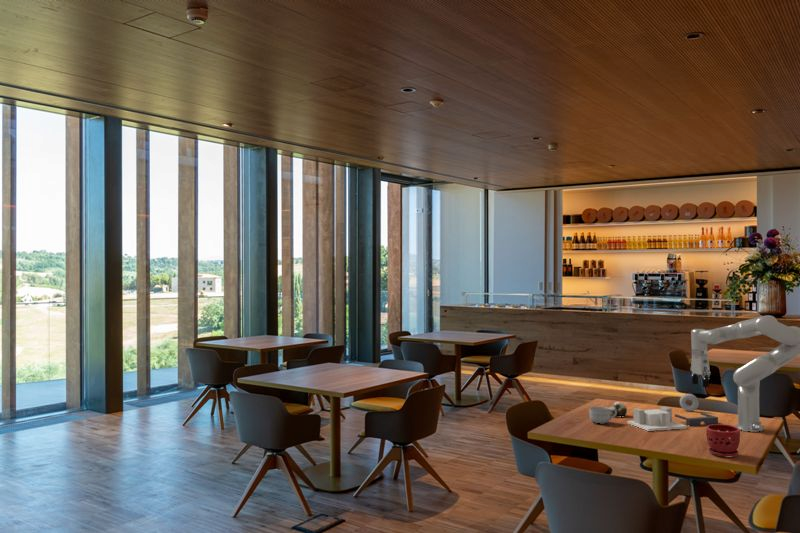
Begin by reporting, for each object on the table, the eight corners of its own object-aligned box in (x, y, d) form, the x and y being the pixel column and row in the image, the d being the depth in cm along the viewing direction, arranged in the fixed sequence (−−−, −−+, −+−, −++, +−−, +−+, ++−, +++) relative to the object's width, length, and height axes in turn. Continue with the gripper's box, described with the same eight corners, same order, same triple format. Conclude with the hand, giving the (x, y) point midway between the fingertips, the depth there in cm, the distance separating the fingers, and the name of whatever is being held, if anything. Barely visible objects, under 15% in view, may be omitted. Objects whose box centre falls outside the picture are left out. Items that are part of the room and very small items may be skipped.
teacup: (588, 424, 340) (588, 409, 340) (590, 419, 350) (589, 405, 350) (616, 426, 335) (616, 410, 335) (617, 421, 345) (617, 406, 345)
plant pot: (701, 450, 289) (701, 423, 289) (733, 451, 288) (732, 424, 288) (713, 459, 276) (712, 430, 276) (745, 459, 275) (745, 431, 275)
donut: (679, 410, 370) (679, 393, 370) (680, 409, 373) (679, 392, 373) (698, 412, 365) (698, 394, 365) (699, 411, 368) (699, 393, 368)
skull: (605, 415, 355) (604, 399, 362) (606, 425, 362) (605, 409, 369) (628, 416, 351) (627, 400, 358) (629, 426, 358) (628, 409, 365)
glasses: (718, 424, 338) (718, 417, 338) (689, 426, 334) (689, 419, 334) (702, 419, 350) (702, 412, 350) (674, 421, 346) (674, 414, 346)
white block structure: (686, 428, 328) (686, 412, 328) (648, 431, 323) (648, 414, 323) (663, 421, 346) (663, 405, 346) (627, 423, 340) (627, 407, 340)
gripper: (715, 354, 334) (716, 387, 333) (696, 350, 351) (697, 382, 351) (702, 354, 333) (703, 388, 333) (683, 351, 350) (684, 383, 350)
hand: (700, 385), depth 342 cm, fingers open, 9 cm apart
